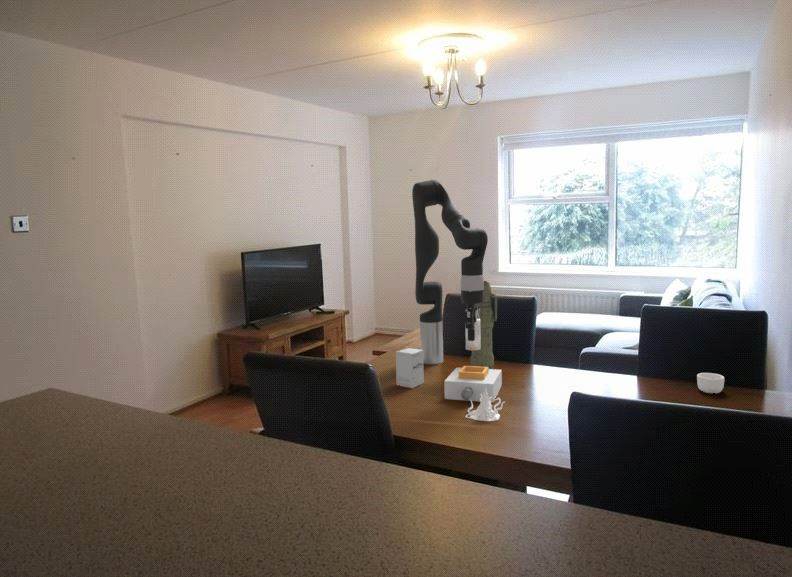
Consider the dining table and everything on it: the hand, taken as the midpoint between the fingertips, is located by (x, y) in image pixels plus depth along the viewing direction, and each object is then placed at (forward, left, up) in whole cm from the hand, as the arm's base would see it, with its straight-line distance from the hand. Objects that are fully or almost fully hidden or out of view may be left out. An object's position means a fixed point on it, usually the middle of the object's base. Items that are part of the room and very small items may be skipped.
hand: (473, 338), depth 185 cm
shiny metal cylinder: (0, 0, -3) cm, 3 cm away
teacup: (-19, +74, -19) cm, 79 cm away
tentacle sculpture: (+22, +8, -19) cm, 30 cm away
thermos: (-27, -2, -19) cm, 33 cm away
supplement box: (-4, -24, -19) cm, 31 cm away
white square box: (0, 0, -19) cm, 19 cm away
